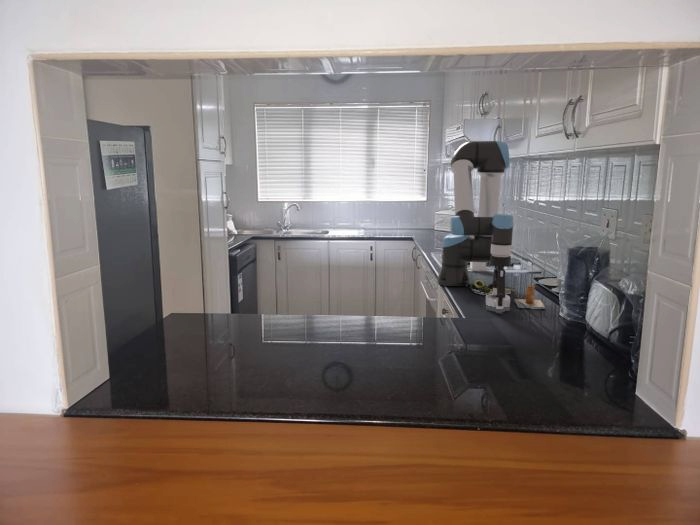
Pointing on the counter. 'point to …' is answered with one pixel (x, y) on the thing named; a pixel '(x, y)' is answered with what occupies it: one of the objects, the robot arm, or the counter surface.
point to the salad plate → (486, 287)
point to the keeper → (531, 298)
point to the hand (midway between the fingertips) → (497, 308)
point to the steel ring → (492, 300)
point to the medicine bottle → (478, 266)
